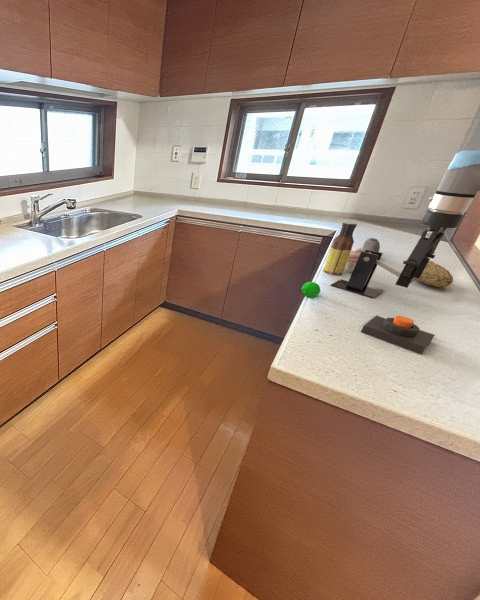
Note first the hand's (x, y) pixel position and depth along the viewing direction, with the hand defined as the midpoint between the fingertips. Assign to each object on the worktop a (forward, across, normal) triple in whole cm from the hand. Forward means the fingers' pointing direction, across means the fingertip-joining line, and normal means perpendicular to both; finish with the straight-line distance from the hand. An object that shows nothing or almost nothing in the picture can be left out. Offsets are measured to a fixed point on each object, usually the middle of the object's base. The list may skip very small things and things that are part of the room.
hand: (407, 281), depth 100 cm
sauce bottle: (+8, -11, -22) cm, 26 cm away
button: (+4, +27, +6) cm, 28 cm away
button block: (+8, +27, +6) cm, 29 cm away
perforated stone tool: (+8, -53, -22) cm, 58 cm away
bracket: (+8, 0, -11) cm, 13 cm away
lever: (-1, 0, -6) cm, 6 cm away
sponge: (+8, -34, 0) cm, 35 cm away
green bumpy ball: (+8, +19, -18) cm, 27 cm away
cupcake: (+8, -20, -19) cm, 29 cm away
